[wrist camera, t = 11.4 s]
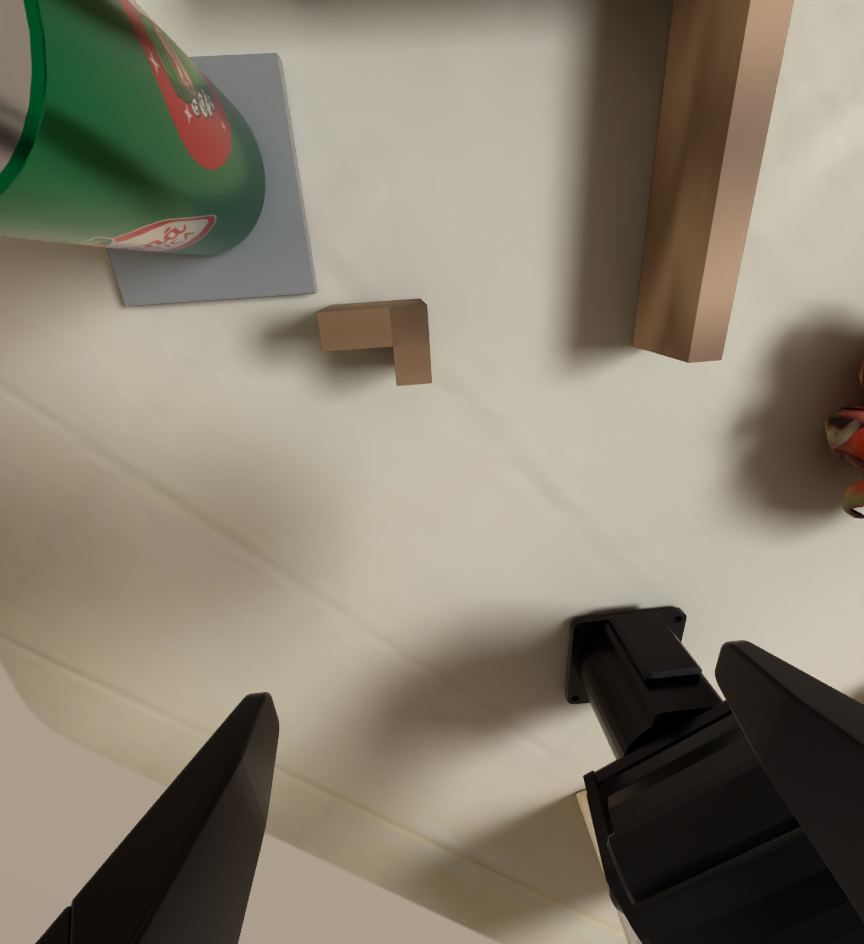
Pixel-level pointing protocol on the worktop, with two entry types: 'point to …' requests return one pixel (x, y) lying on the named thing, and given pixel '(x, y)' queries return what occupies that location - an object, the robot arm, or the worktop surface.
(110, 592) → the worktop surface
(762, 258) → the worktop surface
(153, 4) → the worktop surface
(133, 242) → the soda can
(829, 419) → the dragon fruit
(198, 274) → the slate coaster
